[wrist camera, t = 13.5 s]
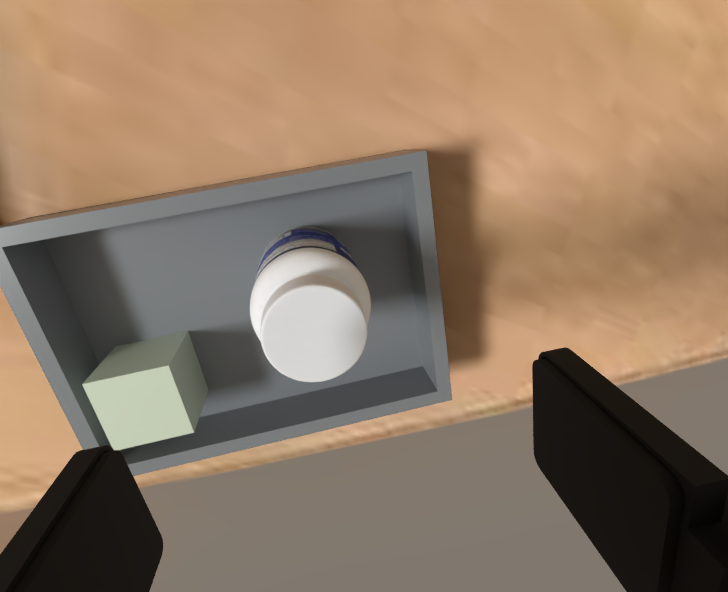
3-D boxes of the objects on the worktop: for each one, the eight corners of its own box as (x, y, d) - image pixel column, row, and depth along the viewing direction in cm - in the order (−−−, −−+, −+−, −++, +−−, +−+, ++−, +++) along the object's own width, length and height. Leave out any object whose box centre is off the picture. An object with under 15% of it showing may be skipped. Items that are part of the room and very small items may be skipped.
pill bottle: (358, 305, 25) (392, 384, 17) (270, 322, 24) (259, 412, 16) (345, 217, 23) (376, 256, 15) (249, 232, 22) (225, 282, 14)
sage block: (187, 331, 24) (168, 365, 20) (208, 390, 25) (194, 432, 21) (115, 346, 23) (82, 384, 20) (140, 405, 25) (113, 451, 21)
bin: (405, 149, 23) (426, 150, 20) (431, 366, 28) (452, 399, 25) (28, 217, 21) (-27, 233, 18) (127, 436, 26) (100, 483, 23)
